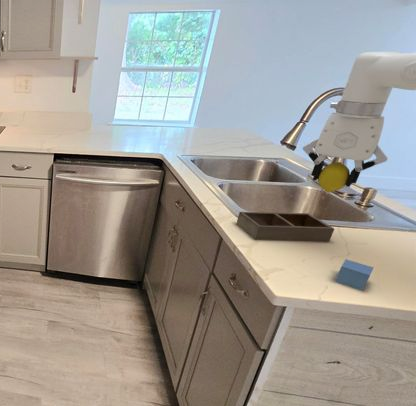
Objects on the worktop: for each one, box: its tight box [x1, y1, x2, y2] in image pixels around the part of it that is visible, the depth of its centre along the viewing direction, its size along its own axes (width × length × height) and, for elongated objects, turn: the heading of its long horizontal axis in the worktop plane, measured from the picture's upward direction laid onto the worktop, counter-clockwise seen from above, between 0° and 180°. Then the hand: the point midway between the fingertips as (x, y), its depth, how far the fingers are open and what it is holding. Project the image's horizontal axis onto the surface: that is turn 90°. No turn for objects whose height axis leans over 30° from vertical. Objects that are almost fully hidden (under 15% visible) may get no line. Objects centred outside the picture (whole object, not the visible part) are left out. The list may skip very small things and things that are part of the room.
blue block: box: [334, 258, 375, 292], centre depth 80 cm, size 4×4×4 cm
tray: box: [235, 211, 335, 243], centre depth 102 cm, size 10×18×4 cm, turn 83°
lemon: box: [317, 161, 351, 193], centre depth 91 cm, size 6×6×8 cm
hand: (331, 181), depth 92 cm, fingers closed on lemon, 5 cm apart
